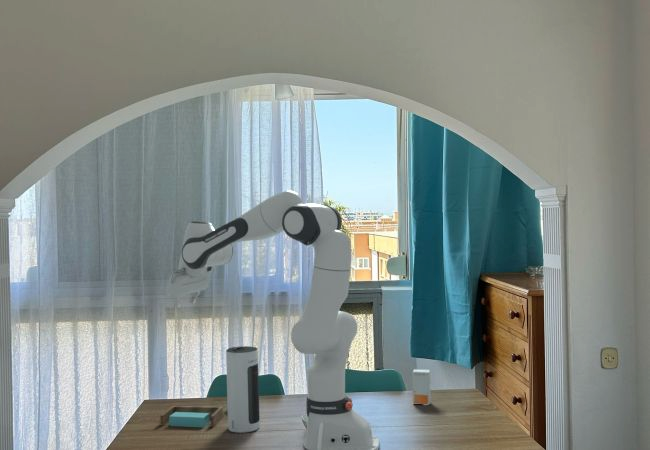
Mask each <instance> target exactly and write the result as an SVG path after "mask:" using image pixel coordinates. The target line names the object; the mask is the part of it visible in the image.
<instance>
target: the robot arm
mask: <svg viewBox="0 0 650 450" xmlns="http://www.w3.org/2000/svg"><path fill="white" fill-rule="evenodd" d="M342 220H343V219H342V216H341V214H340V212H339V211H338V209H336V208H334V207H332V206H330V205H326V204H317V203H304V201H303V199H302V198H301V196H300V194H298V193H297V192H295V191H293V190H285V191H281V192H278V193H277V194H275V195H272V196H269V197H268V198H266V199H265V200H263V201H261V202H260V203H258V204H256V205H255V206H254V207H252V208H250V209H249V210H248V211H246V212H244V213H242V214H241V215H239V216H238V217H236V218H234V219H233V220H231V221H229V222H228V223H227V222H226V223H225V224H224V225H221V226H220V227H217V228H216V229H215V227H214V225H213V224H212V223H211V222H210V221H206V220H192V221H190V222H189V223H188V225H187V226H186V229H185V232H184V236H183V241H182V248H181V253H180V256H179V263H178V266H177V269H175V270H174V271H173V273H171V275H170V276H169V279H168V282H167V284H166V285H167V286H166V289H165V294H166V296H168V297H170V298H171V299H172V308H173V309H178V308H180V307H181V302H180V299H181V297H182V296H187V295H189V294H191V296H190V297H189V303H190V304H195V303H196V302H197V298H198V297H199V295H200V294H201V291H205V290H207V289H208V287H209V285H210V281H211V275H212V271H213V270H214V269H213V268H214V267H216V266H217V267H219V266H223V265H227V264H228V263H230V261H231V260H232V258H233V254H234V247H233V245H234V244H237V243H241V242H248V241H249V242H250V241H259V240H260V241H261V240H265V239H268V238H272V237H274V236H277V235H279V234H280V233H282V232H284V233H285V234H286V236H287V237H289V238H290V239H293V240H294V241H297V242H299V243H301V244H303V245H304V246H306V247H307V246H310V245H311V246H312V247H313V250H314V251H313V252H314V257H313V265H312V276H311V284H310V291H309V295H308V298H307V301H306V303H305V306H304V309H303V311H302V313H301V316H300V317H299V318H298V320H297V321H296V323H295V324H294V325H293V326H292V327H291V328H292V329H291V332H290V341H291V343H292V345H293V347H294V349H295V350H296V351H298V353H301V354H304V355H314V358H313V361H312V363H311V364H310V366H309V367H308V371H307V397H306V402H305V403H306V404H305V407H306V408H305V410H306V411H305V412H306V416H307V422H306V423H307V424H306V429H305V430H306V431H305V438H304V440H303V444H302V446H303V448H305V449H306V450H379V448H380V446H381V445H380V439H379V438H378V436H376V435H375V434H373V433H372V428H371V425H370V422H369V421H368V419H366V418H365V417H364V416H362V415H361V414H359V413H358V412H357V411H356V410H354V409H353V406H354V405H353V400H352V397H351V396H350V397H348V396H346V368H347V362H348V358H349V357H348V356H349V352H350V348H351V345H352V343H353V340H354V339H355V338H356V335H357V333H358V323H357V320H356V319H355V317H354V316H353V315H352V314H351V313H349V312H346V311H341V310H340V309H341V308H342V307H341V306H342V305H343V304H344V302H345V301H346V299H347V298H348V295H349V289H350V288H349V287H350V278H351V271H352V269H351V268H352V244H351V238H350V236H349V235H348V234H347V233H346V232H343V231H342V230H341V229H342V224H343V223H342V222H343V221H342Z"/></svg>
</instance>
